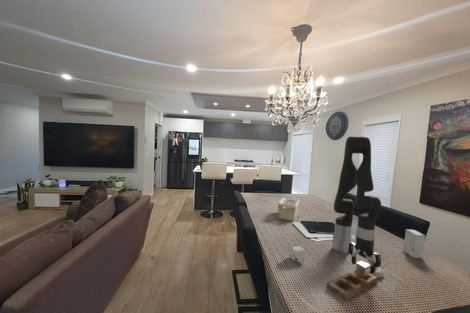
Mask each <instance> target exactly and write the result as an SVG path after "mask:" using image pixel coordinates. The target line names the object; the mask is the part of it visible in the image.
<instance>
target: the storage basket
mask: <svg viewBox="0 0 470 313" xmlns="http://www.w3.org/2000/svg"><path fill="white" fill-rule="evenodd" d="M289 202H290V203H289ZM299 205H300V199H297V198H296V199H295V198H289V197H282V198H281V199H280V200H279V201H278V203H277V214H278V215H277V219H281V220H286V221H292V222H294V221H295V219H296V218H297V215H298V213H299Z"/></svg>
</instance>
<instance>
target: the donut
mask: <svg viewBox="0 0 470 313" xmlns="http://www.w3.org/2000/svg"><path fill="white" fill-rule="evenodd" d="M366 263H367V262H366ZM367 264H369V265H370V267H371V264H370V262H369V263H367ZM370 267H369V273H370ZM370 274H371V273H370ZM372 275H374V276H376V277H377V279H381V278H383V276H384V275H385V274H384V271H383V269H382V268H381V266H380V267H378V268H377V267H376V269H375V273H373V274H372Z"/></svg>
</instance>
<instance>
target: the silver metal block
mask: <svg viewBox="0 0 470 313" xmlns="http://www.w3.org/2000/svg"><path fill="white" fill-rule="evenodd" d="M355 265H356V268H355V269H356V275H358V276H359V277H361V278H363V279H365V280H366V279H368V278H369V267H370V265H369V264H367V262H364V261H362V260H360V261H356V264H355Z"/></svg>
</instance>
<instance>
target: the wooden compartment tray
mask: <svg viewBox="0 0 470 313" xmlns="http://www.w3.org/2000/svg"><path fill="white" fill-rule="evenodd" d="M375 284H378V278H377V277H376V276H374V275H372V274H370V273H369V278H368V279H366V280H365V279H363V278H361V277H359V276H358V275H356V268H354V269H352V270H350V271H348V272H346V273H344V274H342V275H339V276H337V277H336V278H333V279H332V280H330V281H328V282H327V283H326V288H327V289H328V290H329V291H330V292H332V293H333V294H335V295H336V296H337V297H339V298H341V299H342V300H343V301H344V302H347V301H348V300H350V299H353V297H355V296H356V295H358V294H360V293H362V292H363V291H365V290H367V289H368V288H370V287H371V286H373V285H375Z"/></svg>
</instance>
